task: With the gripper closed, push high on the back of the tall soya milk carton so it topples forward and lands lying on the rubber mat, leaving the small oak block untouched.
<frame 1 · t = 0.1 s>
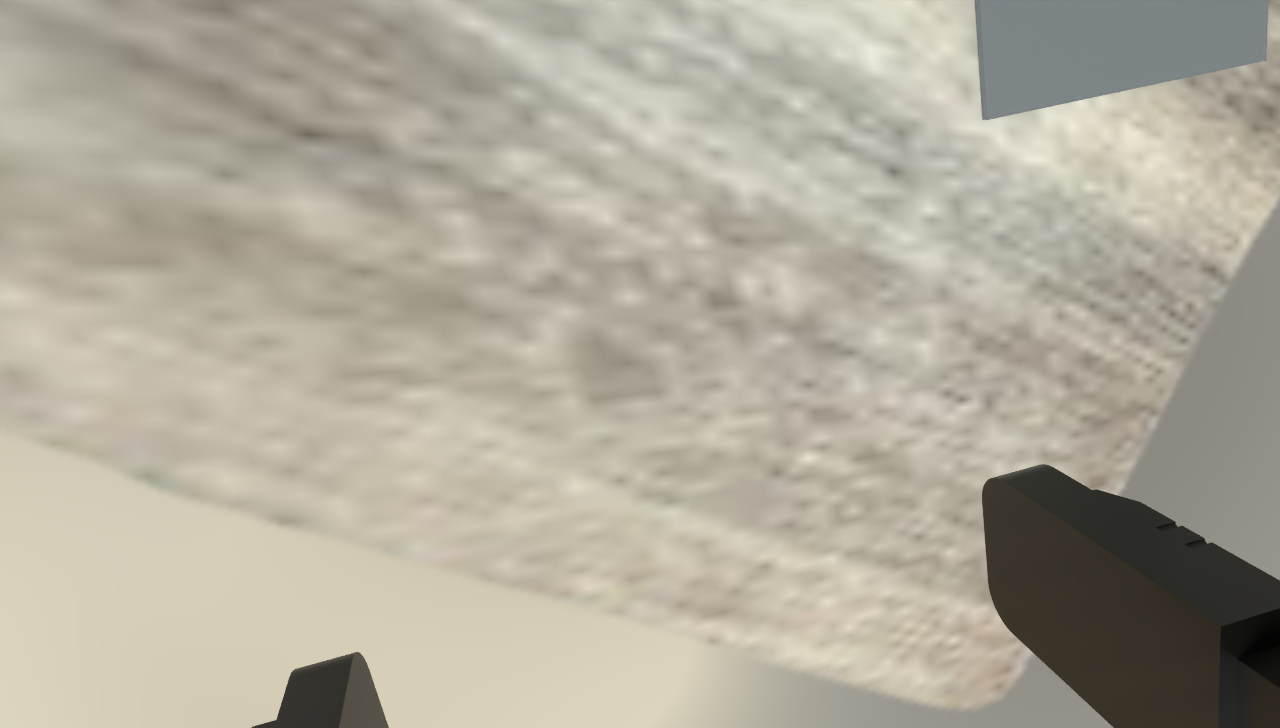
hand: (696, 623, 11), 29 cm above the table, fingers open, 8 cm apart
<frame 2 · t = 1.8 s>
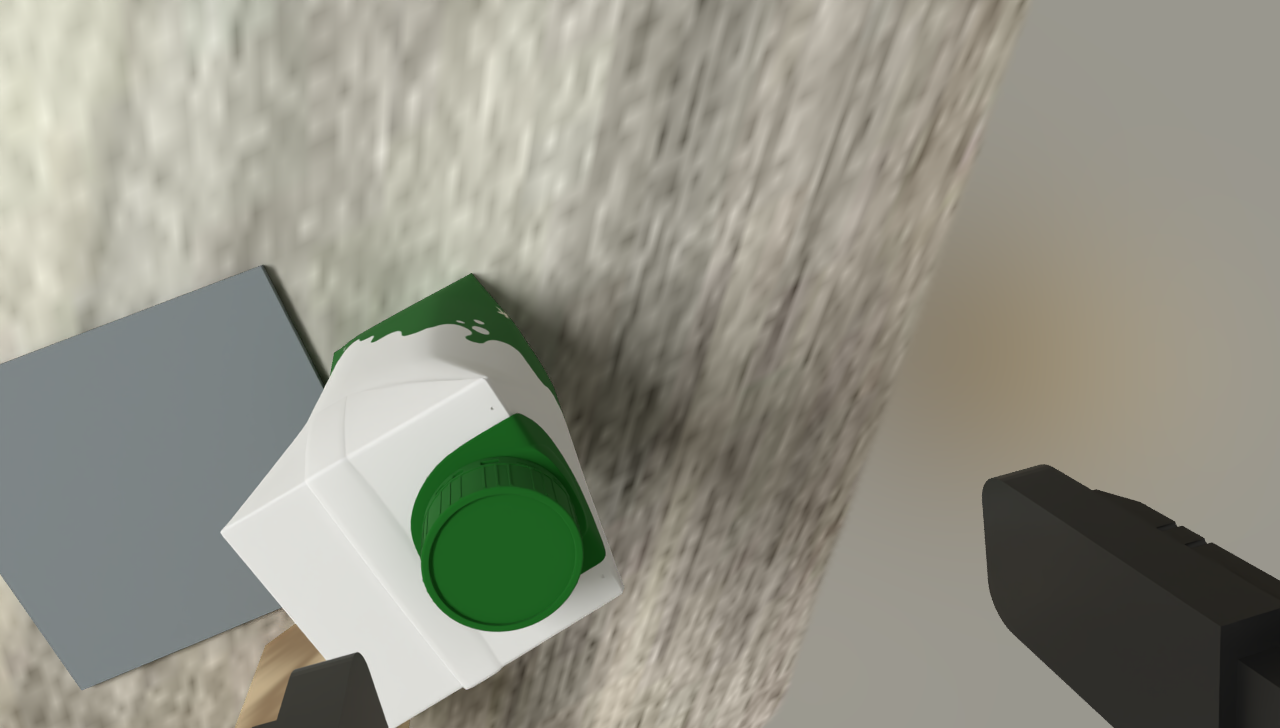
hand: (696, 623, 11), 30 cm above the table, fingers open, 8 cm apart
soya milk: (443, 374, 40), on the table
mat: (170, 484, 39), on the table
oak block: (341, 648, 43), on the table
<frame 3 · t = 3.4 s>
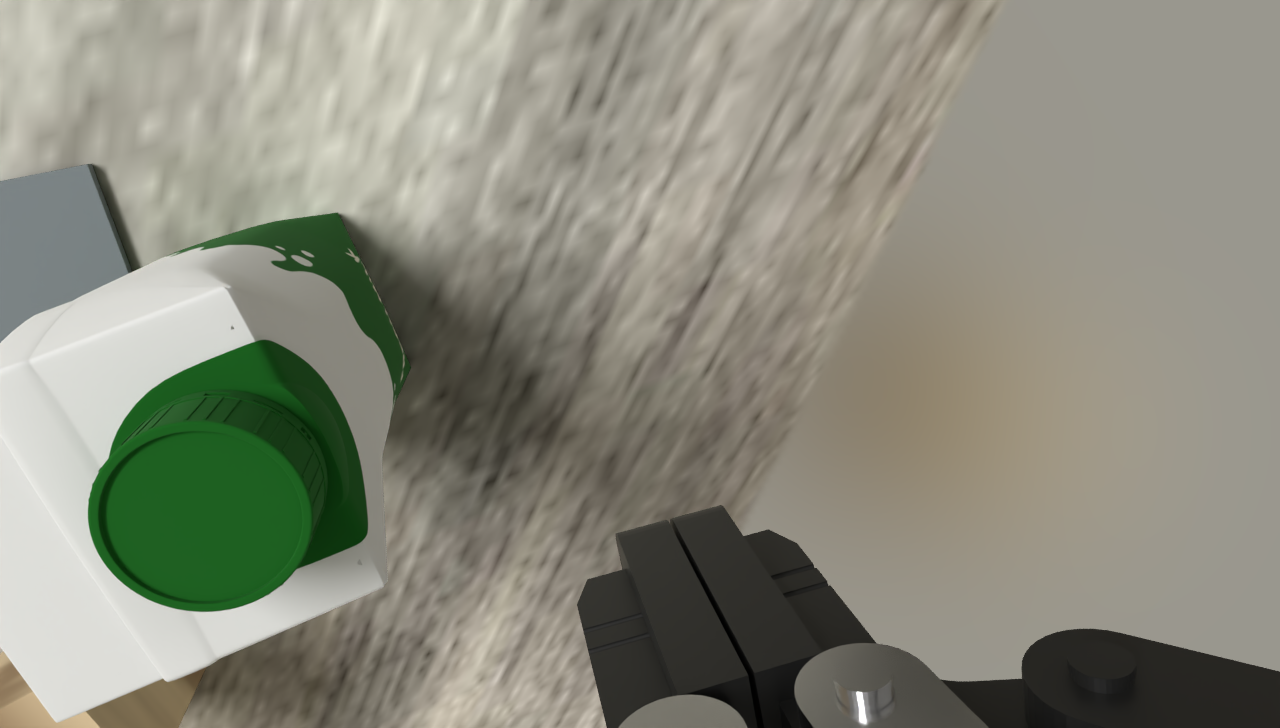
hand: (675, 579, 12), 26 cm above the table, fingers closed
soya milk: (292, 323, 35), on the table
oak block: (133, 621, 37), on the table
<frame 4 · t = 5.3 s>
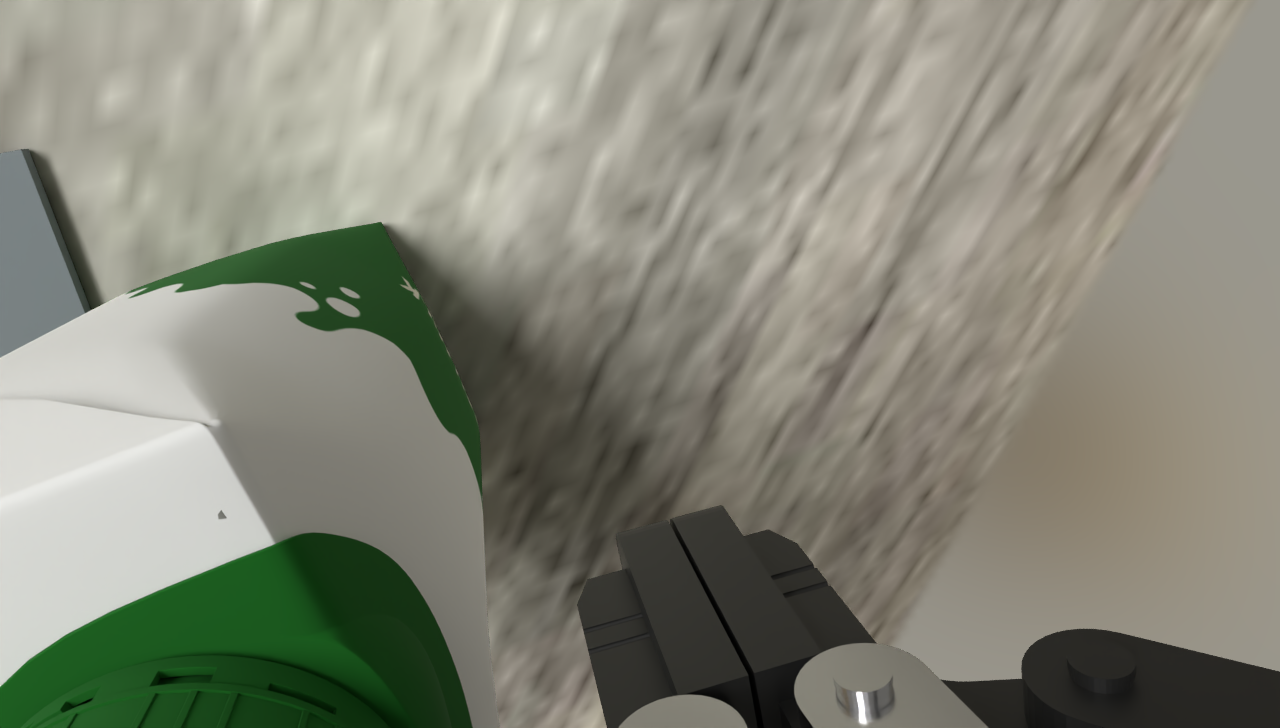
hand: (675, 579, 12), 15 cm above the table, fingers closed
soya milk: (314, 375, 25), on the table, touching hand
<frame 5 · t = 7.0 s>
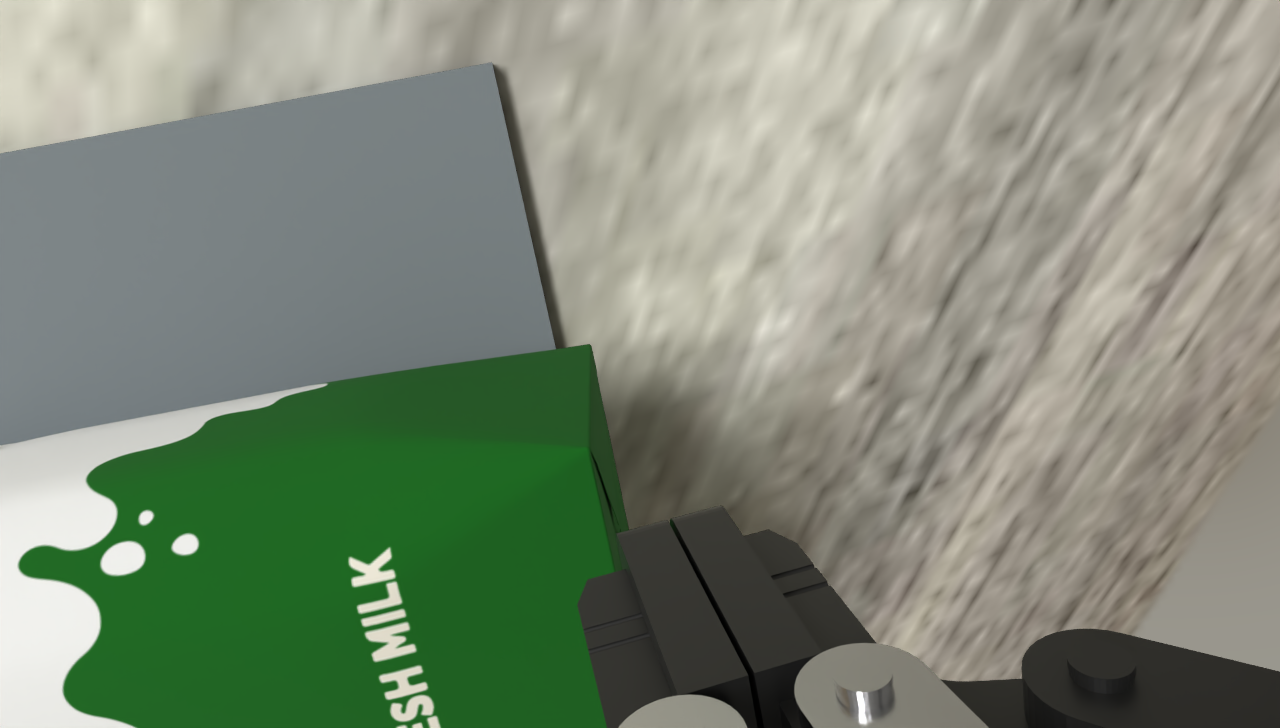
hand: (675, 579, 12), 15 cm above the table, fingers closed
soya milk: (628, 516, 21), point 7 cm above the table, touching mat
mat: (278, 384, 25), on the table
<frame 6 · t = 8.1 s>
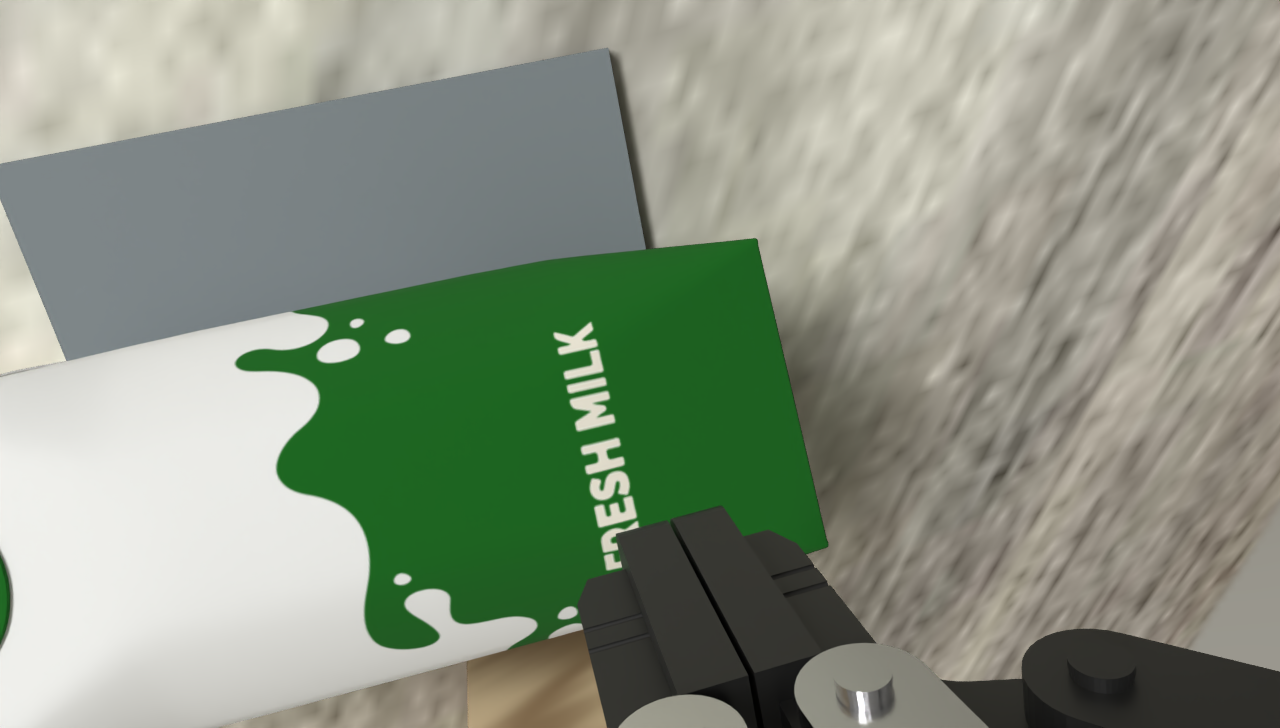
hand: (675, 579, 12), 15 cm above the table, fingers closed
soya milk: (760, 391, 23), point 5 cm above the table, touching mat
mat: (391, 367, 25), on the table
oak block: (569, 652, 29), on the table
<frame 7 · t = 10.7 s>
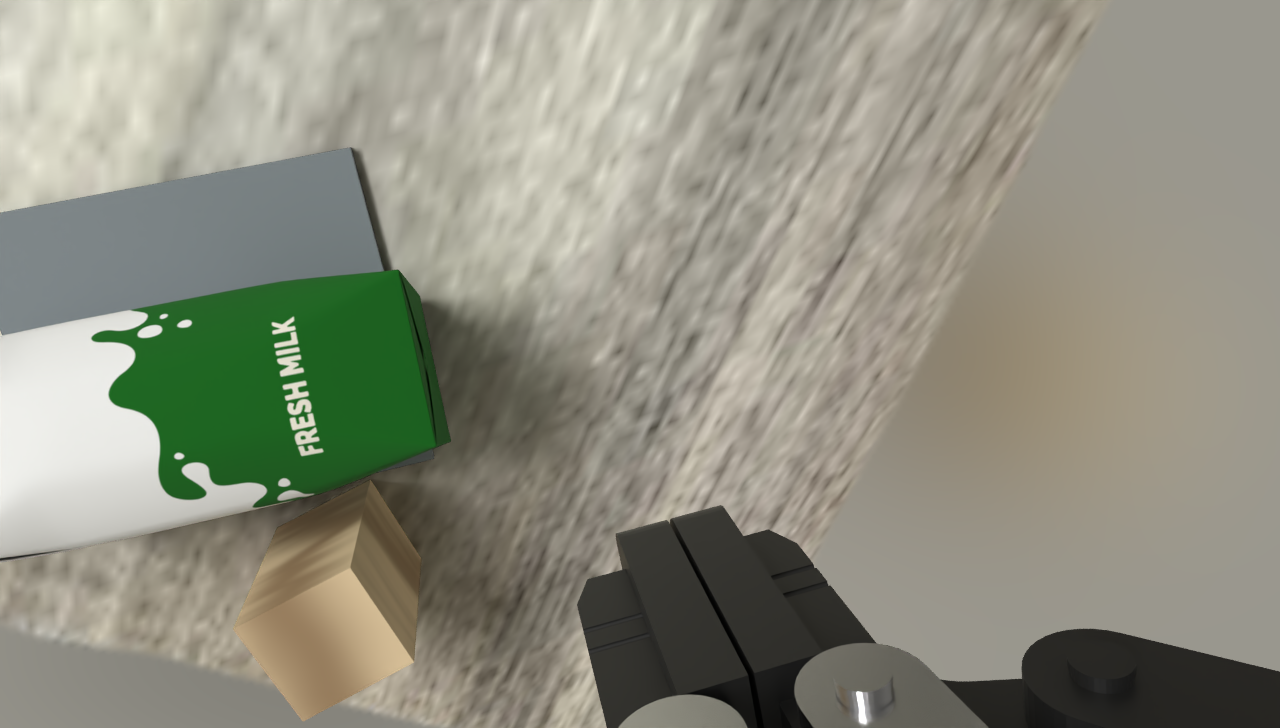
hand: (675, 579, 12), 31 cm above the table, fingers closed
soya milk: (433, 361, 37), point 5 cm above the table, touching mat
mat: (217, 348, 39), on the table
oak block: (350, 543, 43), on the table
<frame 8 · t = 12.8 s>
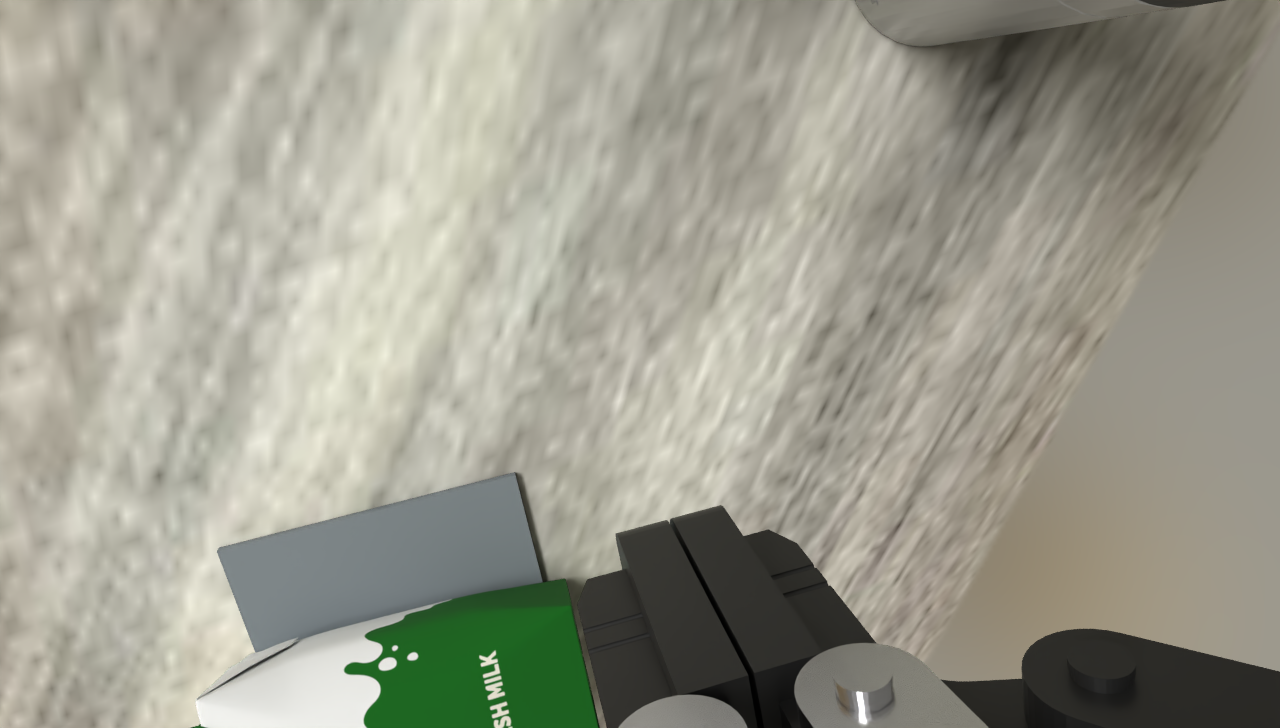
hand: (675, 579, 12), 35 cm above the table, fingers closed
soya milk: (586, 652, 47), point 5 cm above the table, touching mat
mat: (406, 625, 49), on the table
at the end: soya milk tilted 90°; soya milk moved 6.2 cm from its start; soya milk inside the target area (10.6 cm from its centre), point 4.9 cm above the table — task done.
